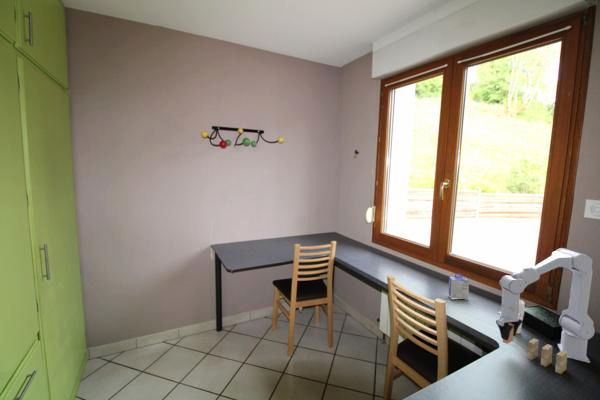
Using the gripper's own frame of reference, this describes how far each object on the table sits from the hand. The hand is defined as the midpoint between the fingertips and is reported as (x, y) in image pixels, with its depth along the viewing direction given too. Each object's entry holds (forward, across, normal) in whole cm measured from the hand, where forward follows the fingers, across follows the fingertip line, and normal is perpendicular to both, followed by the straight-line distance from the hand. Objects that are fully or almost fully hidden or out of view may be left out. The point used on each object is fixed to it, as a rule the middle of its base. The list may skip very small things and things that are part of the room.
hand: (508, 337), depth 117 cm
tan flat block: (+8, -7, +10) cm, 15 cm away
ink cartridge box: (+8, -33, -42) cm, 54 cm away
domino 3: (+8, -7, +15) cm, 18 cm away
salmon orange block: (+2, 0, 0) cm, 2 cm away
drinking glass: (+8, -22, -7) cm, 24 cm away
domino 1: (+8, -7, +6) cm, 12 cm away
